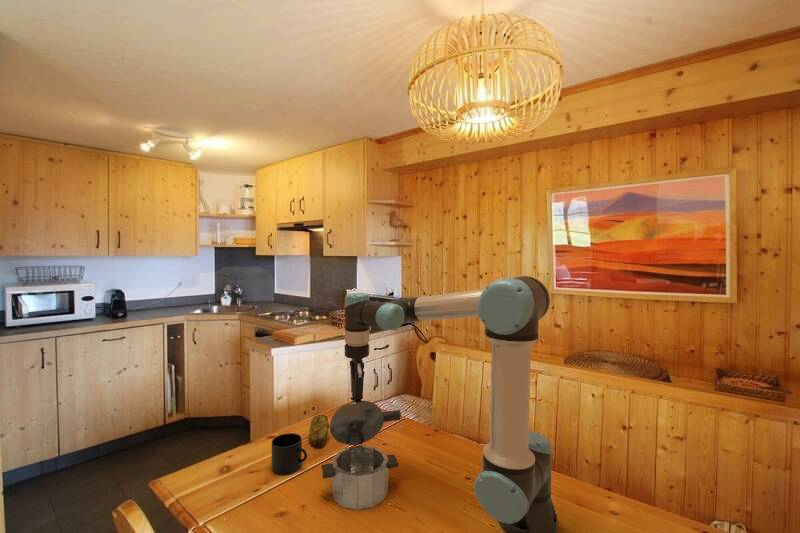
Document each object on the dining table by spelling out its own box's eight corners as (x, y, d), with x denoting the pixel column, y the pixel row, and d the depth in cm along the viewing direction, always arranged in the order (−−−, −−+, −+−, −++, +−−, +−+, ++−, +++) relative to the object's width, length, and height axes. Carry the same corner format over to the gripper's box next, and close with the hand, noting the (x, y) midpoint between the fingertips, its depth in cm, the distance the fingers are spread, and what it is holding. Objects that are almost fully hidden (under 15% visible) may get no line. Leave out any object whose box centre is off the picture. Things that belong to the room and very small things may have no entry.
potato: (301, 448, 135) (301, 426, 135) (314, 431, 148) (314, 411, 148) (323, 449, 134) (323, 427, 134) (334, 432, 147) (334, 412, 147)
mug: (299, 478, 117) (299, 450, 117) (265, 472, 120) (265, 444, 120) (313, 462, 126) (313, 436, 126) (282, 457, 129) (282, 431, 129)
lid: (404, 398, 116) (401, 392, 118) (330, 406, 110) (330, 399, 112) (398, 439, 123) (396, 433, 125) (329, 448, 116) (328, 441, 119)
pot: (403, 501, 106) (403, 469, 106) (324, 515, 101) (324, 481, 100) (388, 467, 123) (388, 439, 123) (320, 478, 117) (320, 448, 117)
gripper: (342, 339, 121) (342, 411, 122) (347, 349, 109) (347, 429, 110) (365, 337, 123) (365, 408, 124) (373, 347, 111) (372, 426, 112)
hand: (356, 418), depth 117 cm, fingers closed
